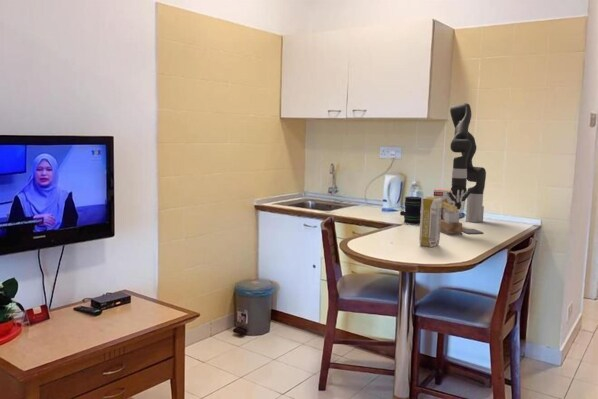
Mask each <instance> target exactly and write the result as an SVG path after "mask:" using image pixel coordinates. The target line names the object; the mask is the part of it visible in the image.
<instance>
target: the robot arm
mask: <svg viewBox="0 0 598 399" xmlns="http://www.w3.org/2000/svg"><path fill="white" fill-rule="evenodd" d="M449 113H450V117H451V120H452V124H453V126H454V136H453V139H452V140H451V141H450V151H451V152H453V153H456V154H457V153H461V156H455V157H454V158H453V160H452V161H453V162H452V163H453V164H452V172H451V173H452V174H451V187H450V189H449V190H450V191H449V192H447V194H448V196H449V197H450V199H451V200H452V201H454V202H455V206H457V209H459V210H460V209H461V208H462V203H463V202H465V201H466V208H465V209H466V210H465V221H466V222H469V223H484V212H485V211H484V210H485V207H484V205H483V203H484V191H485V186H486V178H487V171H486V169H485V167H481V166H474V165H473V158H474V155H475V154H476V151H477V144H476V139H475V137H474V135H473V134H472V133H470V132H469V126H470V123H471V121H472V120H471V119H472V108H471V105H470V104H469V103H467V102H466V103H461V104H456V105H452V106H451V107H450V109H449ZM467 181H468V182H470V183H475V185H474V186H472V187H468V189H467ZM452 193H453V194H454V197H453V195H452Z"/></svg>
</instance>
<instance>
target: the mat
mask: <svg viewBox="0 0 598 399" xmlns="http://www.w3.org/2000/svg"><path fill="white" fill-rule="evenodd" d="M462 233H464V234H467V235H484V234H485V233H484V232H483V231H480V230H478V229H475V228H462Z"/></svg>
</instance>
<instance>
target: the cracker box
mask: <svg viewBox="0 0 598 399" xmlns="http://www.w3.org/2000/svg"><path fill="white" fill-rule="evenodd" d="M450 190H451V189H448V188H447V189H445V188H434V189H433V198H441V202H445V203H448V204H451V205H454V206H455V202H454V201H452V200H451V199H450V197H449V196H448V194H447V192H449V191H450ZM452 195H453V197H454V194H453V193H452ZM459 211H460V209H457V211H451V210H448V209H445V208H443V217H444V213H445V212H456V213H459ZM459 214H460V213H459Z"/></svg>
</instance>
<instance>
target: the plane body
mask: <svg viewBox="0 0 598 399" xmlns="http://www.w3.org/2000/svg"><path fill="white" fill-rule="evenodd" d="M462 229H463V223H462V222H460V221H459V223H447V222H444V217H443V218H441V225H440V233H442V234H444V235H447V236H458V235H459V236H462V235H463V233H464V232H462Z"/></svg>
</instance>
